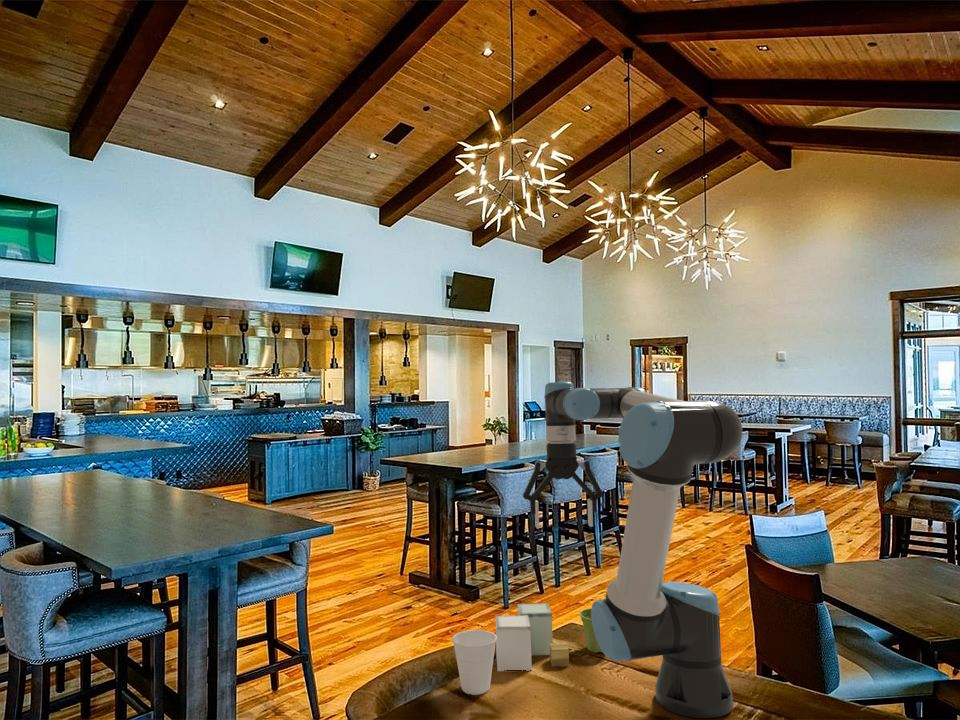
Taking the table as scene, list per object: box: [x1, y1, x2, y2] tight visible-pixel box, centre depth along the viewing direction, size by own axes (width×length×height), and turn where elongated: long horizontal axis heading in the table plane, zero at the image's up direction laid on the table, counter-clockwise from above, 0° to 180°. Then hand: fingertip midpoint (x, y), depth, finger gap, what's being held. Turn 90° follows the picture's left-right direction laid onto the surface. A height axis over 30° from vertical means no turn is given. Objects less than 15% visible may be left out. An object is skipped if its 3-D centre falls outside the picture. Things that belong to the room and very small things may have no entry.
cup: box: [451, 629, 497, 696], centre depth 138 cm, size 10×10×11 cm
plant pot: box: [578, 607, 604, 654], centre depth 159 cm, size 9×9×9 cm
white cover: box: [494, 614, 533, 672], centre depth 151 cm, size 8×8×10 cm
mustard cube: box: [549, 642, 570, 667], centre depth 151 cm, size 4×4×4 cm
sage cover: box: [517, 602, 554, 656], centre depth 160 cm, size 8×8×10 cm
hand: (563, 526), depth 160 cm, fingers open, 13 cm apart
